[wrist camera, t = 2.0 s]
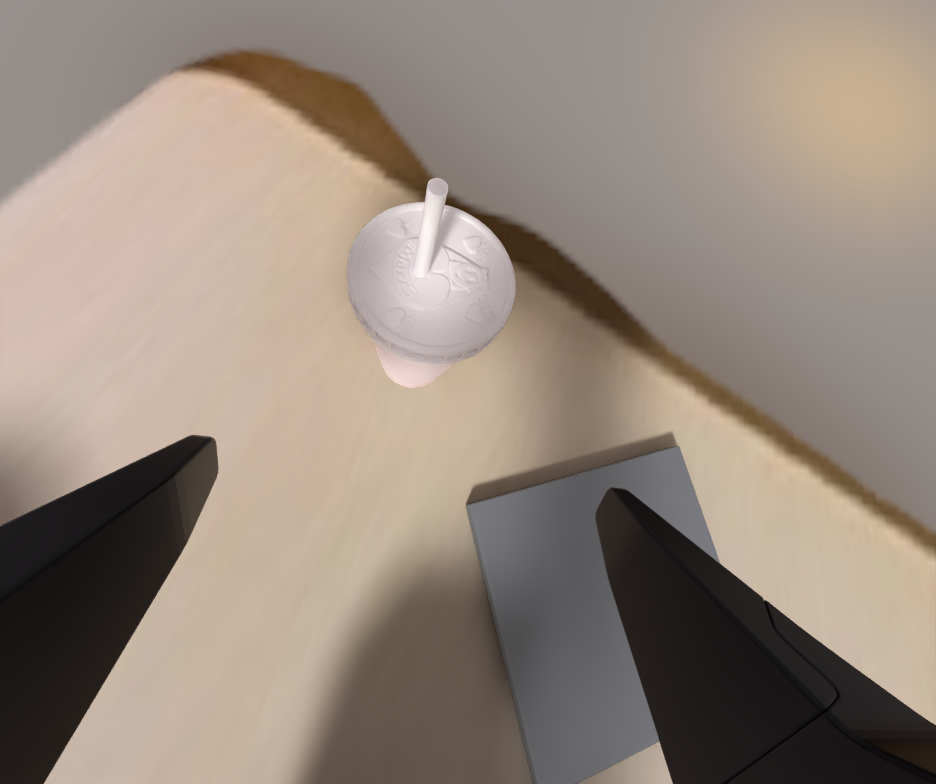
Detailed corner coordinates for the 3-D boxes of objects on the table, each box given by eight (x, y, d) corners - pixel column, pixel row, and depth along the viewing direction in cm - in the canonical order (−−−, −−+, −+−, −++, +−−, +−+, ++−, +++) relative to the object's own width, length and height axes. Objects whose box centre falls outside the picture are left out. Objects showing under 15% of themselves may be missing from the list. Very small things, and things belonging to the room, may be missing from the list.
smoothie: (359, 304, 24) (338, 72, 11) (464, 311, 25) (559, 114, 12) (355, 409, 22) (326, 289, 9) (466, 411, 24) (580, 308, 11)
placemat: (534, 787, 20) (541, 801, 19) (465, 504, 23) (469, 505, 22) (747, 679, 24) (763, 687, 23) (668, 447, 26) (679, 446, 25)
